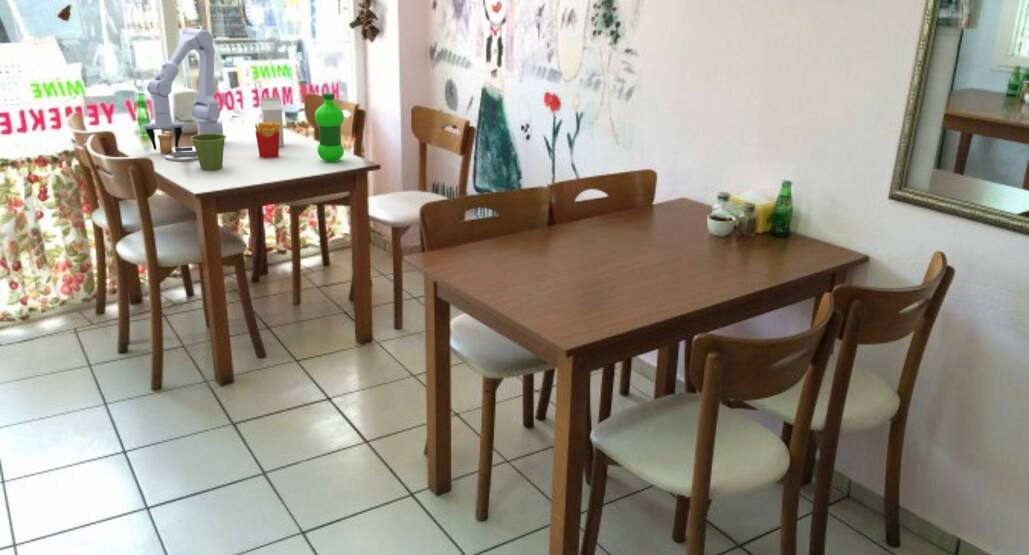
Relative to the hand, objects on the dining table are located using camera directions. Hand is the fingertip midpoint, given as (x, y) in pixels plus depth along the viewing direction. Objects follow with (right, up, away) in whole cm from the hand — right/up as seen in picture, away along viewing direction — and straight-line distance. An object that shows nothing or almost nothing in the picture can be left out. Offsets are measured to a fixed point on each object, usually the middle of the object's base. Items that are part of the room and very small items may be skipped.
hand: (165, 148), depth 314 cm
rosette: (+12, -4, -4) cm, 13 cm away
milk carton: (+35, +4, +19) cm, 40 cm away
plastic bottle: (+62, -5, +1) cm, 62 cm away
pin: (0, -2, +1) cm, 2 cm away
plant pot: (+23, -10, -17) cm, 30 cm away
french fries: (+38, -3, +2) cm, 39 cm away
